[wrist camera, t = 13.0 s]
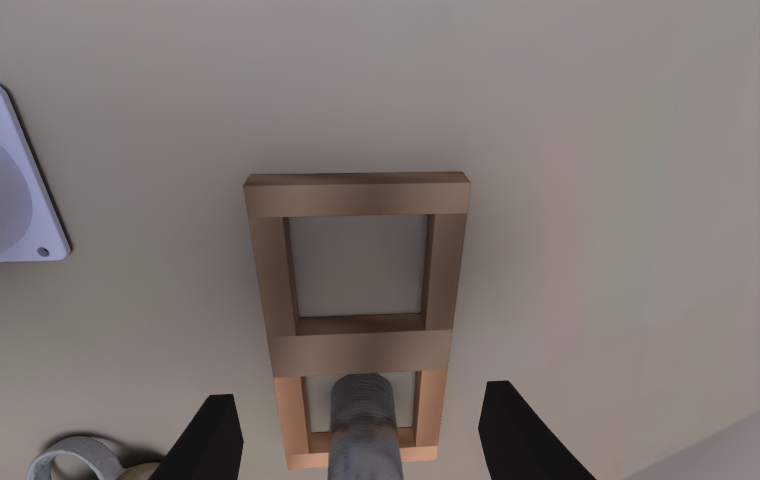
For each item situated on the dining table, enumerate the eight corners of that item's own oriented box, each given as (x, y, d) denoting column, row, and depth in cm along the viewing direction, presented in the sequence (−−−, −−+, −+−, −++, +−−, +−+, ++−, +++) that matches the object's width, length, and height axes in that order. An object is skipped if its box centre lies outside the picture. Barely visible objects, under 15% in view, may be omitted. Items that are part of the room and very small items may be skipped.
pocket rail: (290, 448, 28) (288, 469, 27) (250, 174, 19) (243, 185, 17) (431, 439, 29) (436, 459, 27) (462, 172, 19) (470, 182, 18)
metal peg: (327, 413, 27) (320, 552, 20) (335, 369, 25) (330, 505, 18) (386, 416, 27) (400, 553, 20) (398, 374, 25) (417, 508, 18)
